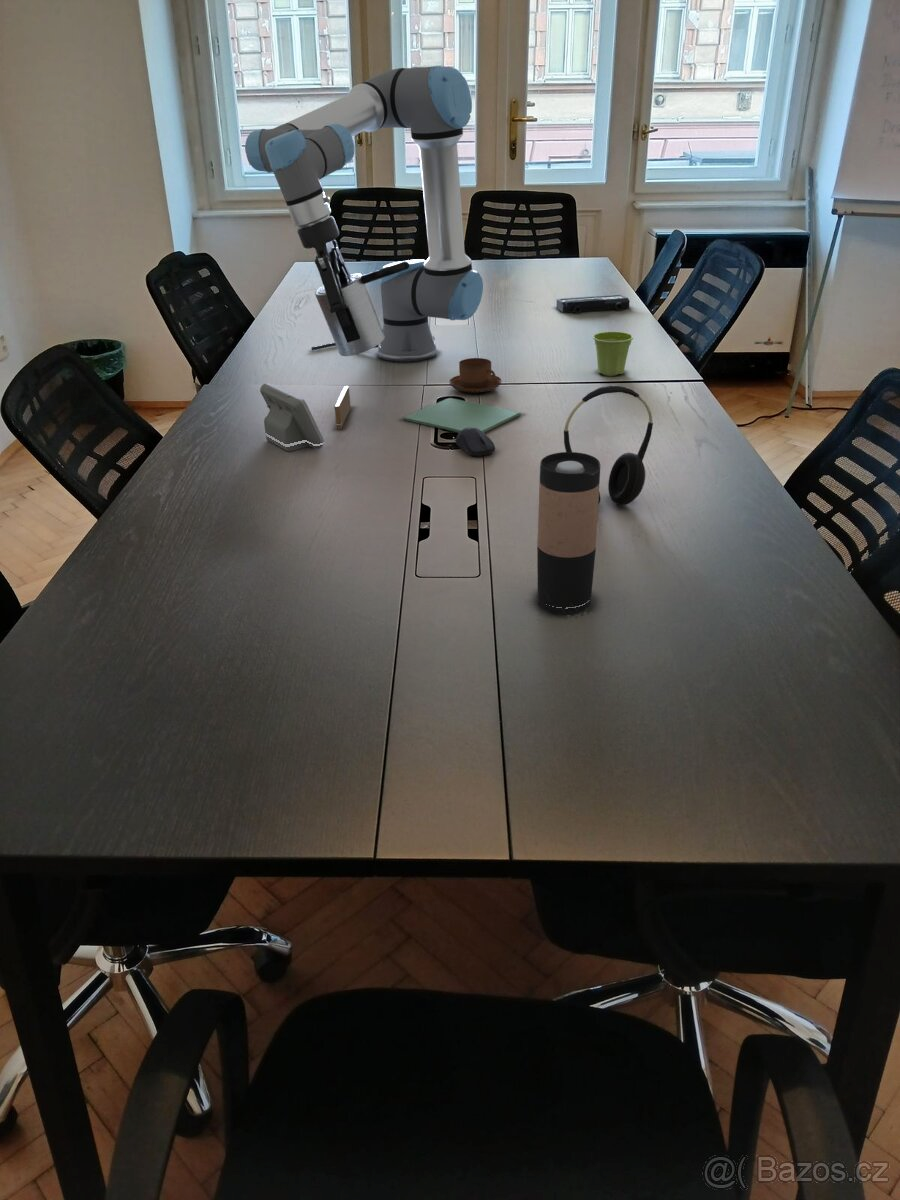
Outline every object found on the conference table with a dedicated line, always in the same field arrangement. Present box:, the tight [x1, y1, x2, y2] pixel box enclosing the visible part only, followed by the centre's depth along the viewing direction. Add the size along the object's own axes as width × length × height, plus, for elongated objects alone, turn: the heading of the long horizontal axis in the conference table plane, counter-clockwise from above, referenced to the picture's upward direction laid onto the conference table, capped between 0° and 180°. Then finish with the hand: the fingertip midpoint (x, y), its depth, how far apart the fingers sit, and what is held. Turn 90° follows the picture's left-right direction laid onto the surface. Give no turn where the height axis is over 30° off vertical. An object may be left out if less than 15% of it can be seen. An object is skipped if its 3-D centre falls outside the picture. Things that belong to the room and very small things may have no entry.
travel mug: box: [536, 451, 601, 615], centre depth 114 cm, size 8×8×20 cm
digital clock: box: [259, 383, 325, 452], centre depth 174 cm, size 16×9×11 cm, turn 26°
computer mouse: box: [455, 427, 496, 457], centre depth 169 cm, size 6×9×4 cm, turn 28°
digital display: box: [555, 294, 631, 314], centre depth 272 cm, size 21×3×10 cm
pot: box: [314, 260, 410, 357], centre depth 177 cm, size 16×10×23 cm, turn 92°
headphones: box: [563, 385, 654, 506], centre depth 141 cm, size 9×15×20 cm, turn 101°
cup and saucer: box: [449, 357, 502, 394], centre depth 203 cm, size 12×12×6 cm
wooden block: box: [334, 385, 351, 430], centre depth 187 cm, size 1×14×5 cm, turn 178°
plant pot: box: [592, 331, 634, 377], centre depth 210 cm, size 9×9×9 cm
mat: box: [403, 397, 521, 434], centre depth 187 cm, size 19×16×1 cm
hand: (356, 331), depth 180 cm, fingers closed on pot, 10 cm apart
